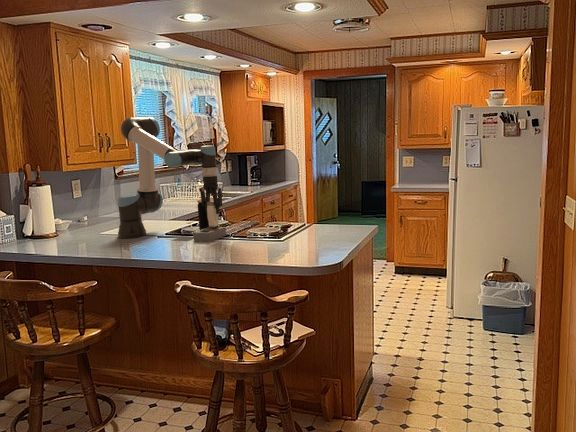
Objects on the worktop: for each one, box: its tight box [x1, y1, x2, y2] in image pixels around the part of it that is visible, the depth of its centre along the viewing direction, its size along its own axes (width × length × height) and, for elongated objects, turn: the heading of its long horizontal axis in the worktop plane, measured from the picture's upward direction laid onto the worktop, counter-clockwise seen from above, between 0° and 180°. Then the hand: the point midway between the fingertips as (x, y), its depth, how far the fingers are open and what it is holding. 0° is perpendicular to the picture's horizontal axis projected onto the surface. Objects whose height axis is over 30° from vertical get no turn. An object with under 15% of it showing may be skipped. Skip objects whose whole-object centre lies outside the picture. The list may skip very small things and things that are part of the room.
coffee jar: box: [196, 197, 220, 230], centre depth 309 cm, size 11×11×18 cm
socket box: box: [192, 226, 227, 243], centre depth 291 cm, size 10×16×5 cm, turn 156°
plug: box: [207, 201, 219, 227], centre depth 293 cm, size 4×4×13 cm
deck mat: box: [171, 235, 194, 242], centre depth 293 cm, size 10×10×1 cm
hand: (213, 219), depth 294 cm, fingers closed on plug, 4 cm apart
